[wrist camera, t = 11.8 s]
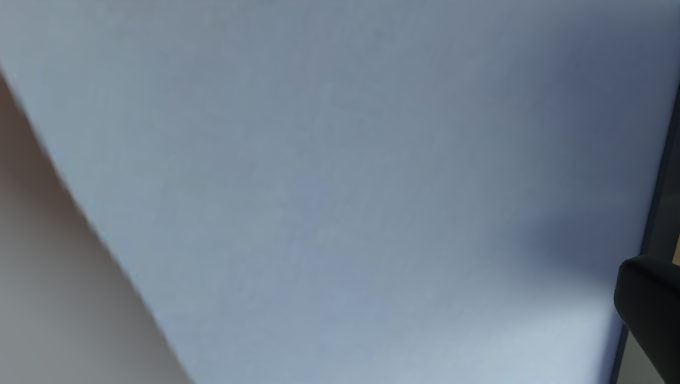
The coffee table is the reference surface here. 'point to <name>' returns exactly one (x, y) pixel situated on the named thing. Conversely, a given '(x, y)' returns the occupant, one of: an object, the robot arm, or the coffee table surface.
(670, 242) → the long dark base plate
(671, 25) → the coffee table surface
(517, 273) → the coffee table surface
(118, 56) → the coffee table surface
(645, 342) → the robot arm
